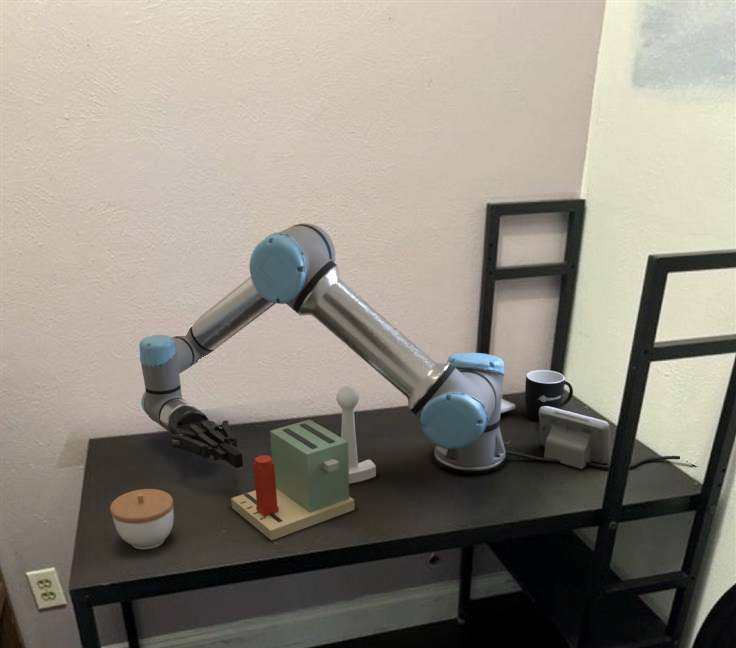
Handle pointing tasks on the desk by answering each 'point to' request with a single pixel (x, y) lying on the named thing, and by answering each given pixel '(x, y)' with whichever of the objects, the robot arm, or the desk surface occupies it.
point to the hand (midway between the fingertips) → (238, 461)
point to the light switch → (506, 406)
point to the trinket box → (143, 517)
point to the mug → (544, 391)
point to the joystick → (353, 436)
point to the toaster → (302, 480)
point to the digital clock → (574, 437)
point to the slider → (265, 485)
